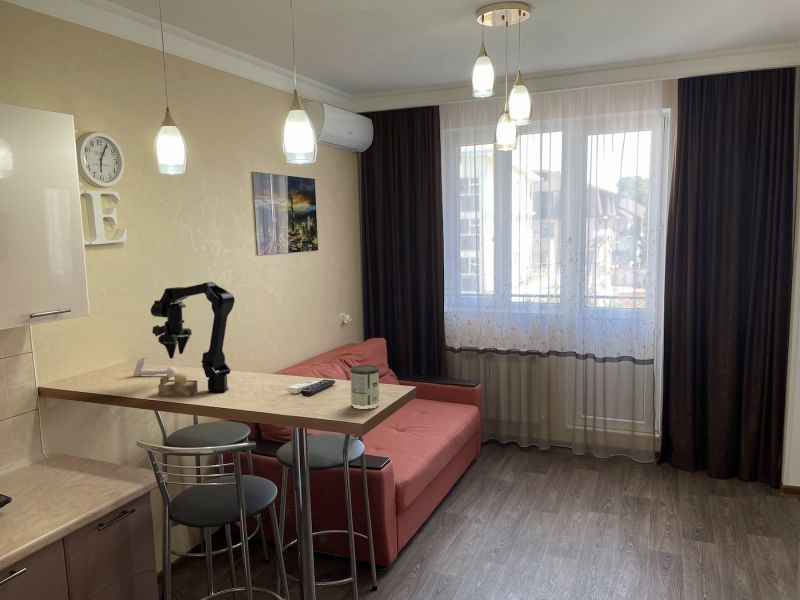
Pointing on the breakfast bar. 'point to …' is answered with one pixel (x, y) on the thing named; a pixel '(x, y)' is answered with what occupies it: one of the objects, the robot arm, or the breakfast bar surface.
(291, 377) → the breakfast bar surface
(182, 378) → the tan wooden cube
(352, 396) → the coffee can
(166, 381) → the lid
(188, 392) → the box
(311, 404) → the breakfast bar surface
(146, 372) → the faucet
